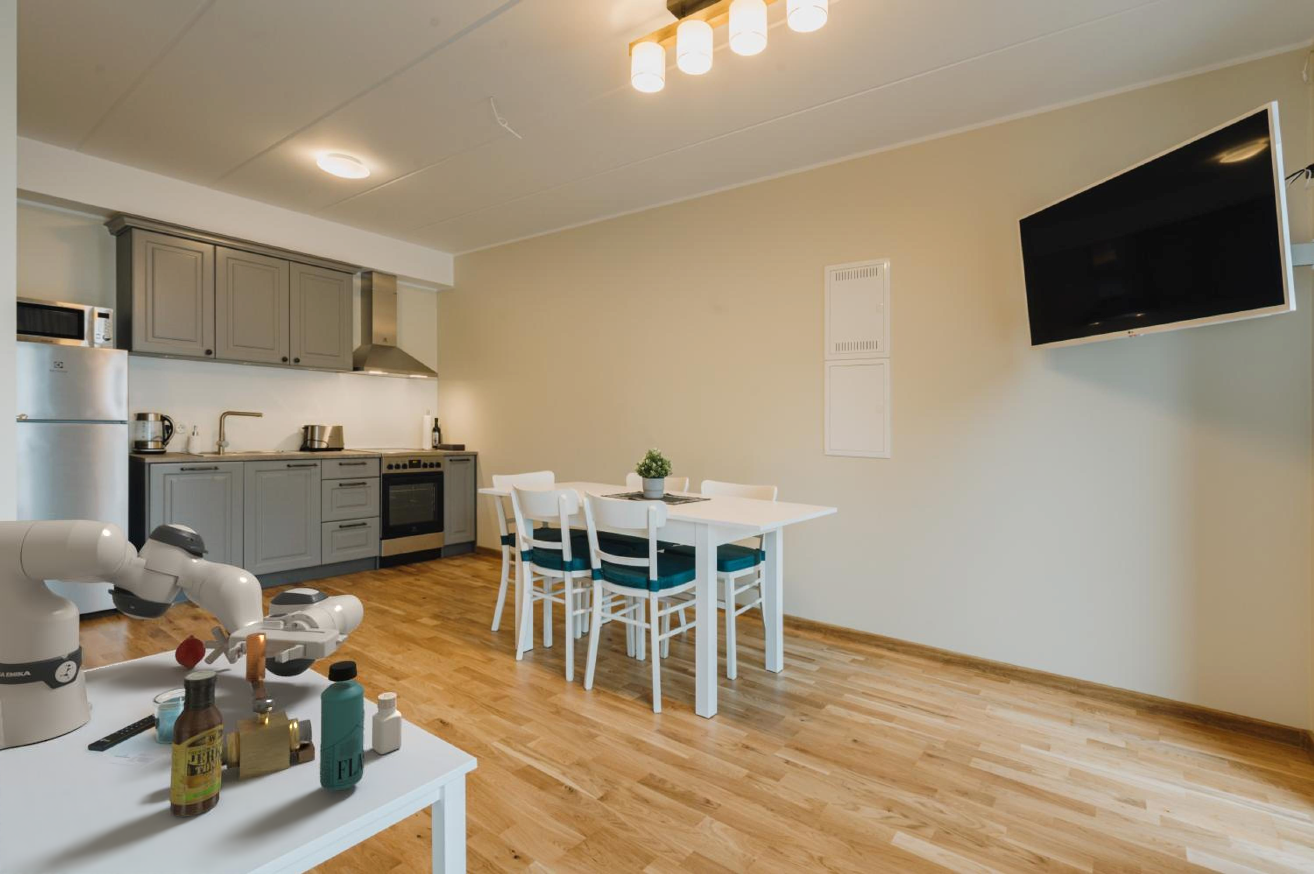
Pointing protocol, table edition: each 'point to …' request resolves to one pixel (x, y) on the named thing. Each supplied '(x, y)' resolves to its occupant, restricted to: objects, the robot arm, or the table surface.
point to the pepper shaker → (386, 724)
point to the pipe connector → (218, 646)
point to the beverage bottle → (342, 728)
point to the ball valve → (267, 744)
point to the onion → (190, 652)
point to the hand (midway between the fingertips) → (254, 656)
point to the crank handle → (257, 672)
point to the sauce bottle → (197, 748)
